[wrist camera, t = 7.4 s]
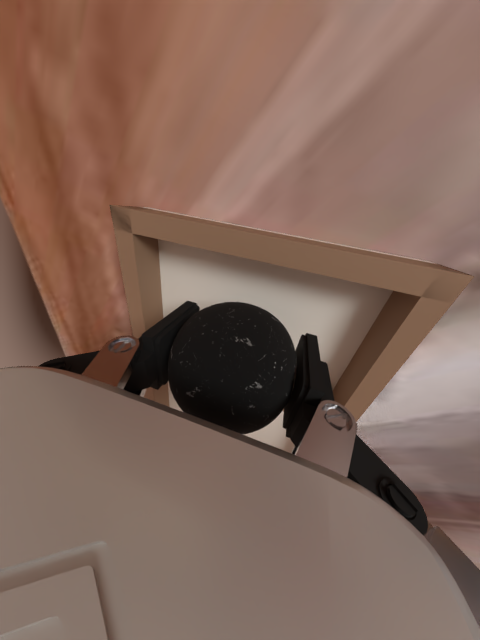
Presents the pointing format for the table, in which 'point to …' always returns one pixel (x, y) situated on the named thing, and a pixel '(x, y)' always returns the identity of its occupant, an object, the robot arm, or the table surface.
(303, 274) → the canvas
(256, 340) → the billiard ball
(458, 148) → the table surface
